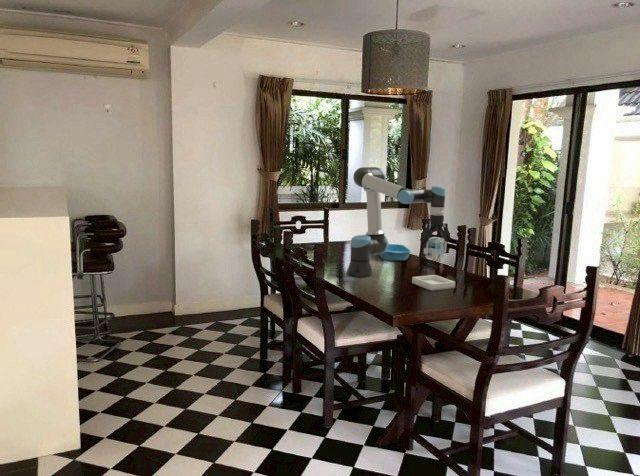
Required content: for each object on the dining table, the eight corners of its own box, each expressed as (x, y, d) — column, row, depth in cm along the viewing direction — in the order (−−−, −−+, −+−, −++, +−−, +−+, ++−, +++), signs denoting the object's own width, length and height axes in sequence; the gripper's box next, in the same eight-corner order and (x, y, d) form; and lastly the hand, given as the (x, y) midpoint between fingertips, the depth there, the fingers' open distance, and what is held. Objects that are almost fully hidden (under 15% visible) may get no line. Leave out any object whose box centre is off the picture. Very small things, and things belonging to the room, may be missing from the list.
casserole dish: (372, 252, 381) (372, 242, 380) (401, 252, 383) (401, 243, 382) (381, 262, 345) (381, 252, 344) (413, 262, 347) (413, 252, 345)
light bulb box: (436, 259, 276) (437, 240, 274) (424, 257, 280) (425, 238, 278) (444, 256, 284) (445, 237, 282) (433, 255, 288) (434, 236, 286)
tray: (431, 290, 273) (432, 284, 272) (412, 283, 289) (412, 277, 288) (455, 288, 280) (455, 282, 279) (434, 280, 296) (434, 274, 295)
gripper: (423, 216, 270) (421, 255, 273) (458, 214, 280) (456, 252, 283) (414, 214, 276) (413, 253, 280) (449, 213, 287) (447, 250, 290)
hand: (434, 253), depth 281 cm, fingers closed on light bulb box, 12 cm apart
